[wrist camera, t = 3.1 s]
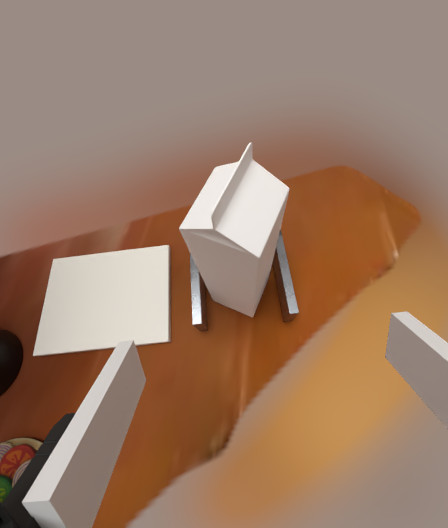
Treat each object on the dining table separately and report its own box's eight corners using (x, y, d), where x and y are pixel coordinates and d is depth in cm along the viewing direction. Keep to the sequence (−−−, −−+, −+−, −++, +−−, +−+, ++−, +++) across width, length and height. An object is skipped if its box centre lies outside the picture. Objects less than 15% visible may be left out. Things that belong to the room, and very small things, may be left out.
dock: (200, 331, 33) (192, 324, 28) (196, 256, 37) (189, 240, 32) (291, 321, 32) (298, 312, 27) (276, 246, 37) (280, 229, 32)
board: (38, 356, 33) (32, 355, 32) (57, 261, 39) (53, 259, 38) (170, 342, 32) (168, 341, 31) (170, 248, 38) (168, 244, 37)
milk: (212, 301, 34) (160, 199, 14) (230, 264, 36) (206, 128, 16) (253, 318, 33) (261, 233, 13) (269, 278, 35) (298, 150, 15)
